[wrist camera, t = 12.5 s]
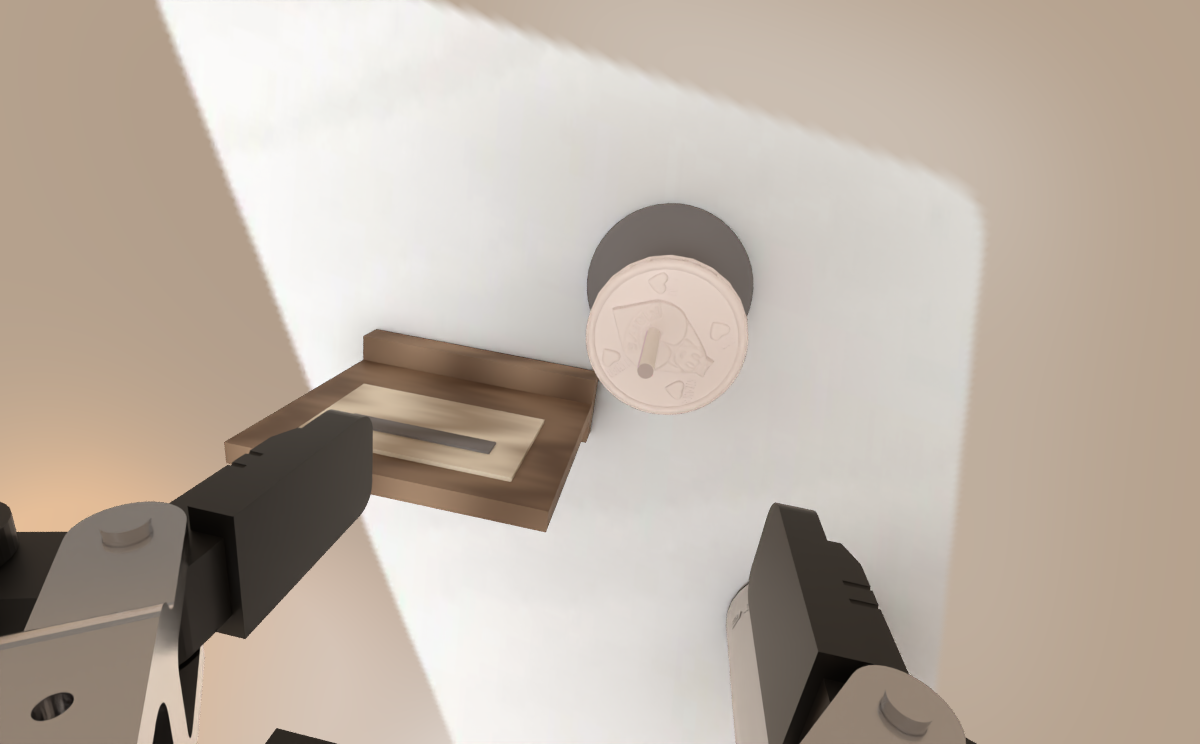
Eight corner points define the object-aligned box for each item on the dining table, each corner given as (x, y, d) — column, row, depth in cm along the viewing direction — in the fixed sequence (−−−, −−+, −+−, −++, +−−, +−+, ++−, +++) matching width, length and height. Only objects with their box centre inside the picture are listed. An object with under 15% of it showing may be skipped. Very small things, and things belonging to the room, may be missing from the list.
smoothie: (654, 207, 30) (628, 237, 17) (756, 273, 30) (809, 354, 17) (592, 308, 32) (526, 404, 19) (687, 368, 32) (687, 503, 19)
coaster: (787, 286, 31) (789, 288, 30) (668, 394, 34) (668, 397, 33) (668, 165, 29) (668, 165, 29) (556, 289, 32) (554, 290, 32)
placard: (599, 372, 34) (552, 479, 22) (590, 431, 35) (541, 562, 24) (376, 329, 35) (220, 410, 23) (375, 388, 36) (229, 493, 25)
